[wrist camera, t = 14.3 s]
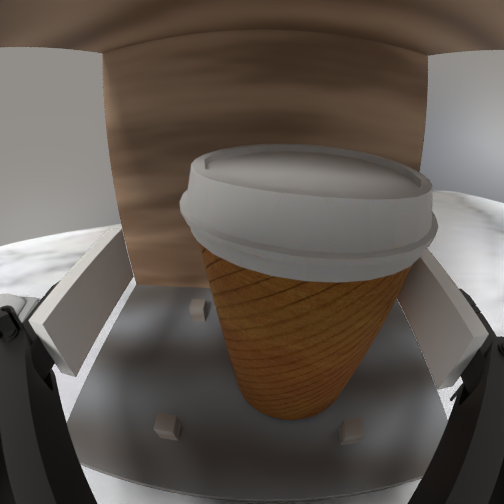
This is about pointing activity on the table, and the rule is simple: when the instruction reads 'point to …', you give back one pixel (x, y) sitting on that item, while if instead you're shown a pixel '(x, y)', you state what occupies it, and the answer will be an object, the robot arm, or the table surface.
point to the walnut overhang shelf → (188, 249)
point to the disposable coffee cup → (304, 261)
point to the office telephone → (19, 304)
